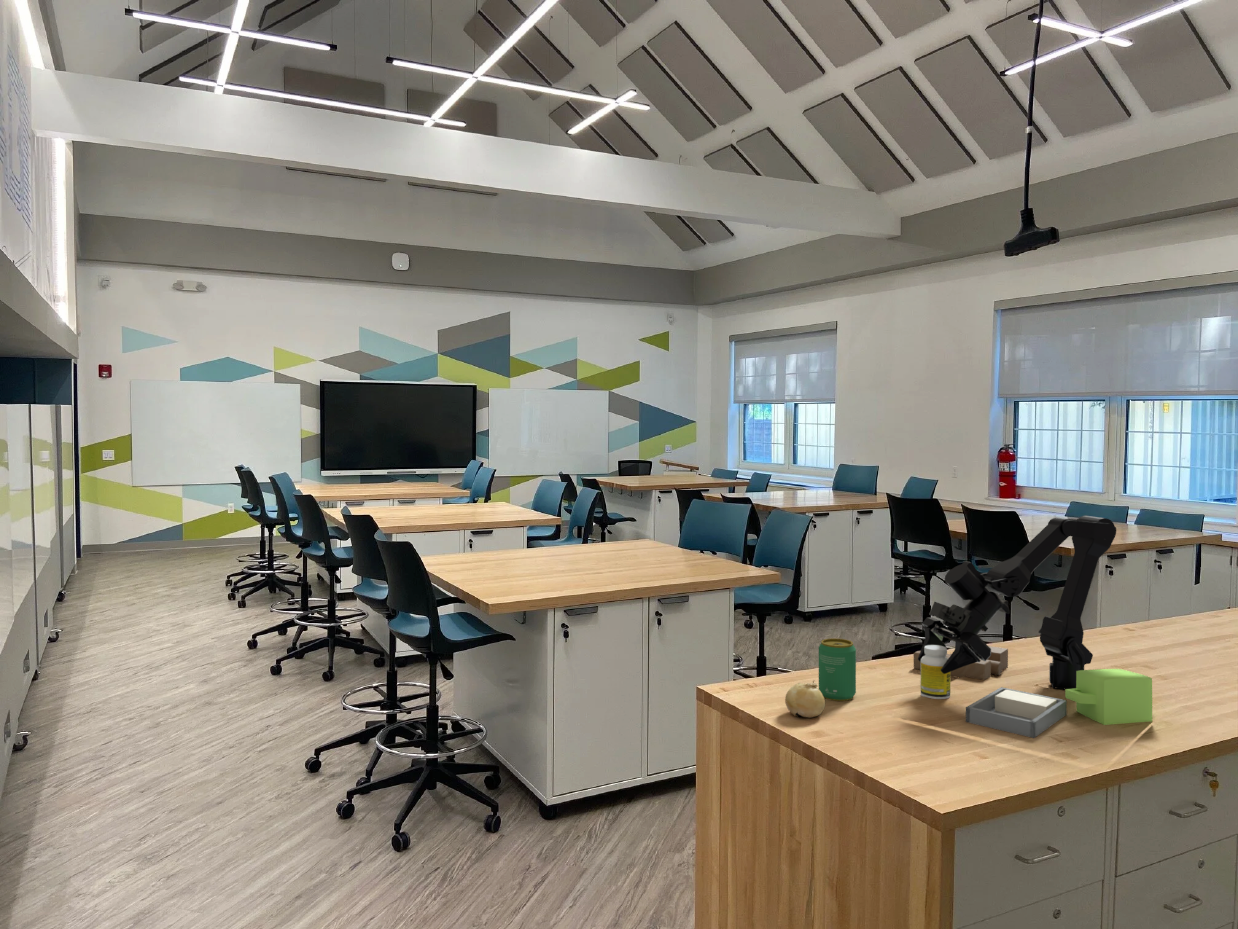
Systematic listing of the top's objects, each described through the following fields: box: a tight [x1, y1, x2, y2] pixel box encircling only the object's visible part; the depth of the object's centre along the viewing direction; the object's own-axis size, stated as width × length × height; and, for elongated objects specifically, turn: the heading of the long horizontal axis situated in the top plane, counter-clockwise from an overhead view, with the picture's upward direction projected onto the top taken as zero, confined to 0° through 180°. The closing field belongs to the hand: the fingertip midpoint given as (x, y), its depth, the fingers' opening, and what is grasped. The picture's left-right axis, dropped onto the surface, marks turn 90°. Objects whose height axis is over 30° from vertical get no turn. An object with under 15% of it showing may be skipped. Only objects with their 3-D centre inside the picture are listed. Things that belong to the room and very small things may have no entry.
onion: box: [784, 680, 826, 718], centre depth 177 cm, size 8×8×7 cm
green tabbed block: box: [1064, 668, 1153, 726], centre depth 174 cm, size 18×10×10 cm, turn 99°
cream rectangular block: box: [995, 690, 1057, 719], centre depth 175 cm, size 6×10×3 cm, turn 45°
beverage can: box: [818, 638, 857, 702], centre depth 189 cm, size 8×8×12 cm
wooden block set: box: [913, 645, 1009, 681], centre depth 210 cm, size 17×6×18 cm
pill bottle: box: [920, 645, 952, 700], centre depth 188 cm, size 6×6×11 cm
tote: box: [965, 686, 1068, 739], centre depth 172 cm, size 18×13×4 cm
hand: (930, 666), depth 187 cm, fingers open, 9 cm apart
